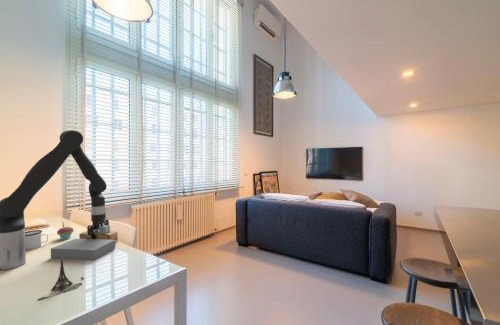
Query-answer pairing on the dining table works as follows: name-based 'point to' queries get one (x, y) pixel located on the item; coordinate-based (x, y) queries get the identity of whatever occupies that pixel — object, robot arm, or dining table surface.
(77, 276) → the dining table surface
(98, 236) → the brown wooden box
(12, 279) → the dining table surface
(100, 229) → the crate
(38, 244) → the mug
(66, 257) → the dock
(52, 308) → the dining table surface
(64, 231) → the cupcake
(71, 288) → the eiffel tower figurine
